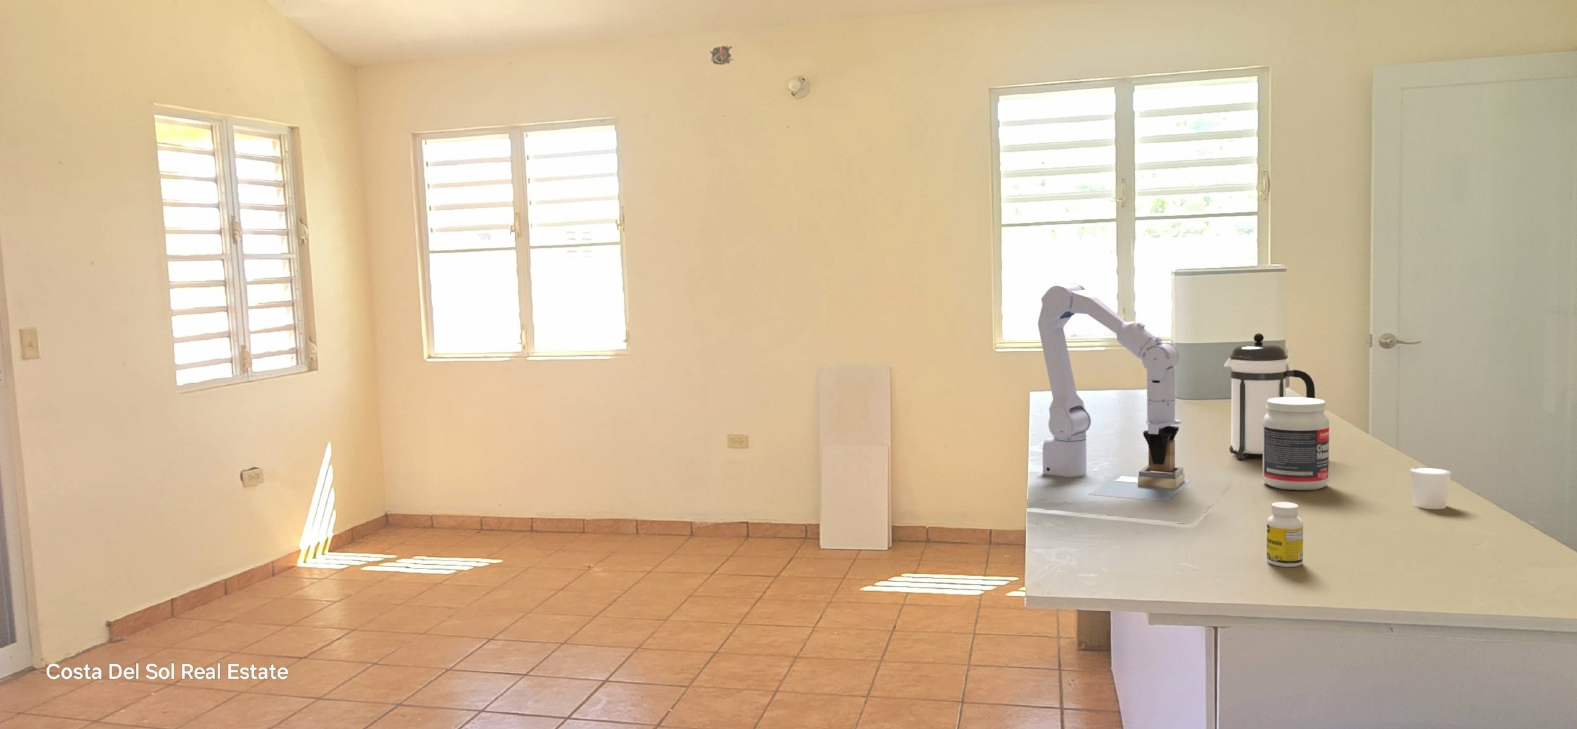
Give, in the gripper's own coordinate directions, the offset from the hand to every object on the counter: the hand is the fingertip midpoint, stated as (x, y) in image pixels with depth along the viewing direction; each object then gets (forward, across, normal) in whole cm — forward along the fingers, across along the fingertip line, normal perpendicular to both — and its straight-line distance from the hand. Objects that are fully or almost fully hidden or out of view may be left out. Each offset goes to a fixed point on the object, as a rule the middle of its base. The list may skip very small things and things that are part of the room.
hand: (1161, 461), depth 233 cm
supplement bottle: (+6, -48, -31) cm, 57 cm away
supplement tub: (+6, +12, -25) cm, 28 cm away
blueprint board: (+6, -5, +3) cm, 8 cm away
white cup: (+6, +3, -50) cm, 50 cm away
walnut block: (+2, 0, 0) cm, 2 cm away
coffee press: (+6, +43, -14) cm, 46 cm away
